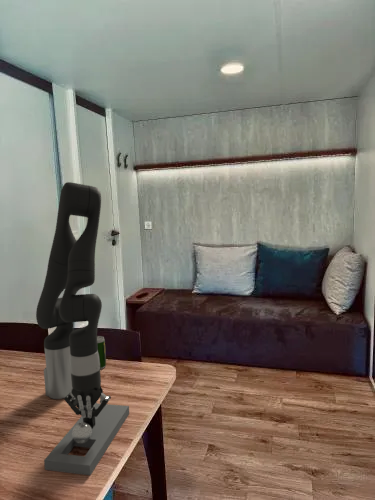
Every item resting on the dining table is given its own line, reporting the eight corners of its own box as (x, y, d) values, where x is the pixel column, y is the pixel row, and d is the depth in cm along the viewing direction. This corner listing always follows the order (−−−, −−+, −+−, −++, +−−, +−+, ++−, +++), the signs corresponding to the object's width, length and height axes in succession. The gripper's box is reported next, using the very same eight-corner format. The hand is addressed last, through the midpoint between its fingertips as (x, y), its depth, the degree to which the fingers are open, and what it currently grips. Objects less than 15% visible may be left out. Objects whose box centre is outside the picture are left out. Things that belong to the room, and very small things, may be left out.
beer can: (95, 371, 140) (93, 341, 139) (90, 366, 145) (88, 337, 143) (108, 367, 143) (106, 338, 142) (103, 362, 148) (101, 335, 146)
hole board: (44, 469, 87) (44, 460, 87) (93, 410, 112) (92, 403, 112) (90, 475, 85) (89, 465, 84) (129, 413, 110) (128, 405, 110)
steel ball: (80, 425, 97) (73, 445, 94) (74, 417, 94) (66, 437, 90) (97, 427, 96) (90, 447, 93) (91, 420, 93) (84, 440, 89)
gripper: (54, 373, 92) (60, 435, 95) (102, 376, 90) (107, 439, 92) (69, 360, 100) (74, 418, 102) (114, 363, 97) (118, 422, 99)
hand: (89, 428), depth 97 cm, fingers closed
